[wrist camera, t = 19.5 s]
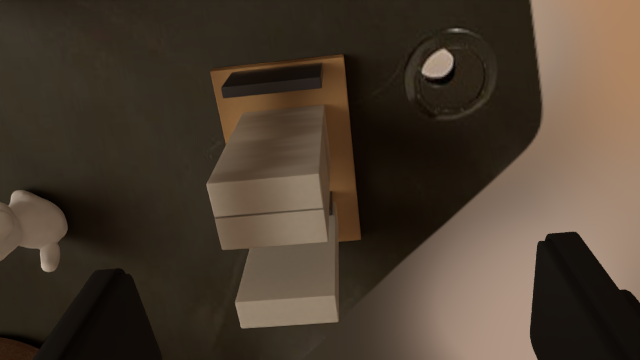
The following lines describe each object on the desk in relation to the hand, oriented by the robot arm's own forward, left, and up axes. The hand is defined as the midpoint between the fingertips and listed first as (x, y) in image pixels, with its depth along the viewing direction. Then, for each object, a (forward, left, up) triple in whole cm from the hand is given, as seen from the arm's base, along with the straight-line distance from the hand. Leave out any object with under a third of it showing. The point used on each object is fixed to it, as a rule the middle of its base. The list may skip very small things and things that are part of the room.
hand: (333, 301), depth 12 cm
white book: (+5, +14, -28) cm, 31 cm away
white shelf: (+5, +9, -29) cm, 30 cm away
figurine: (+28, +12, -29) cm, 42 cm away
